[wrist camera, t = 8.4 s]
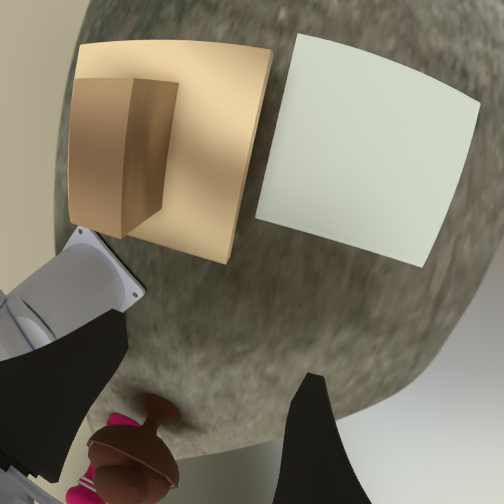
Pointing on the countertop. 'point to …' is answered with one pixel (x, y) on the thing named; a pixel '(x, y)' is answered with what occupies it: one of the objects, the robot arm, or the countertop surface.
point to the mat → (365, 151)
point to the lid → (164, 140)
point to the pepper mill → (84, 495)
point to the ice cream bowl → (135, 457)
